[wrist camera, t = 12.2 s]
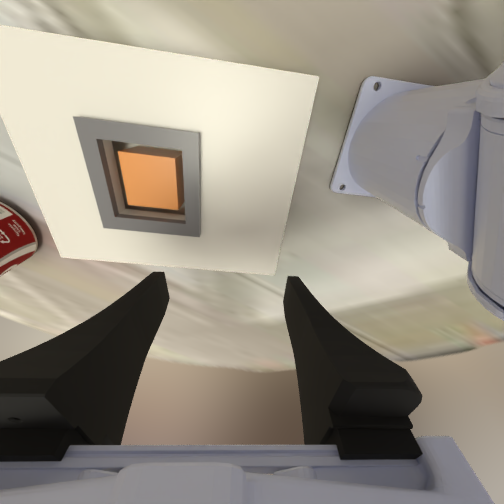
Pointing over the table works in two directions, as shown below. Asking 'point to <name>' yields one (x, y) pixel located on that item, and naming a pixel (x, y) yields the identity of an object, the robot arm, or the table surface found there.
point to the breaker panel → (156, 136)
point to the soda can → (14, 239)
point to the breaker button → (153, 177)
